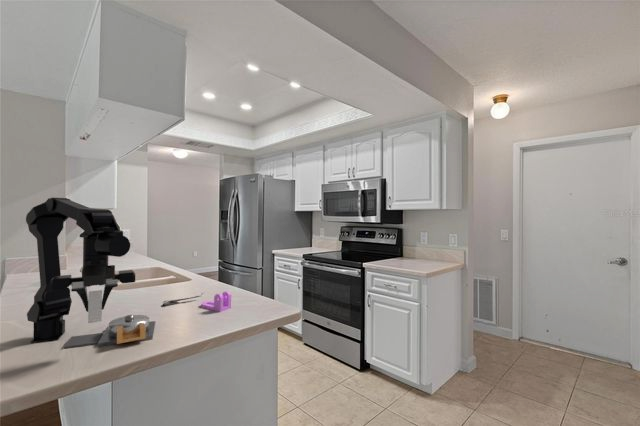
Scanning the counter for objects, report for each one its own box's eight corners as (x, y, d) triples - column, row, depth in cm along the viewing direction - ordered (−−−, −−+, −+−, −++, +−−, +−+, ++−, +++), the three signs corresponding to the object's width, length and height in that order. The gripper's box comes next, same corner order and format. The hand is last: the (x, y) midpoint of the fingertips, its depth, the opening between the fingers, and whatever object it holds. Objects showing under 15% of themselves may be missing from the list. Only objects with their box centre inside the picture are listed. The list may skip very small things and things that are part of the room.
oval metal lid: (108, 328, 100) (108, 314, 100) (146, 321, 106) (147, 308, 106) (108, 345, 88) (109, 329, 87) (152, 337, 94) (152, 322, 94)
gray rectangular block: (88, 323, 84) (88, 293, 84) (88, 320, 86) (88, 291, 86) (101, 321, 85) (101, 292, 85) (101, 318, 88) (102, 290, 88)
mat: (63, 348, 88) (63, 347, 88) (71, 338, 95) (71, 336, 95) (97, 344, 91) (97, 342, 91) (103, 334, 98) (103, 332, 98)
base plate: (97, 346, 90) (97, 343, 90) (107, 329, 102) (107, 326, 102) (152, 339, 95) (152, 335, 95) (155, 323, 108) (155, 321, 108)
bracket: (230, 308, 127) (231, 291, 127) (220, 312, 122) (220, 294, 122) (208, 303, 133) (209, 287, 133) (198, 307, 129) (198, 290, 129)
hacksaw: (162, 308, 127) (162, 304, 127) (154, 302, 134) (154, 299, 134) (217, 297, 144) (217, 294, 144) (207, 293, 151) (207, 290, 151)
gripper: (47, 260, 74) (46, 326, 74) (137, 255, 85) (136, 312, 85) (53, 255, 83) (52, 313, 83) (134, 251, 94) (133, 302, 94)
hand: (95, 310), depth 86 cm, fingers closed on gray rectangular block, 3 cm apart
